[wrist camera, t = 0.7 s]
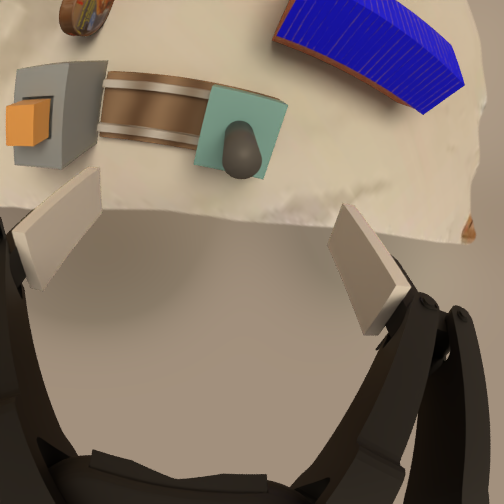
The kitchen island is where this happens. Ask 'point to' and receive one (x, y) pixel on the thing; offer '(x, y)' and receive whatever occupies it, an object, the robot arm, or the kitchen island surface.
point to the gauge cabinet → (62, 110)
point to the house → (375, 47)
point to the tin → (83, 16)
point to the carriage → (239, 132)
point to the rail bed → (155, 108)
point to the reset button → (27, 122)
